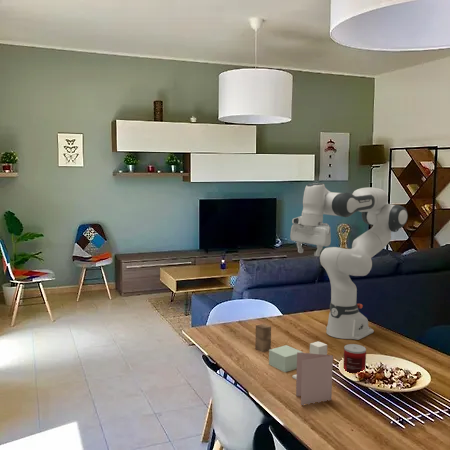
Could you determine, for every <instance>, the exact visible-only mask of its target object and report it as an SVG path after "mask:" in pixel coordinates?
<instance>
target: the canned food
mask: <svg viewBox="0 0 450 450" xmlns="http://www.w3.org/2000/svg"><path fill="white" fill-rule="evenodd" d="M366 363H367V348H366V347H365V346H363V345H361V344H356V343H350V344H346V345H344V347H343V368H344V369H345V371H347V372H349V373H357V372H360V371H363V370H364V369H365V370H366Z"/></svg>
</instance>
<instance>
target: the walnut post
mask: <svg viewBox="0 0 450 450" xmlns="http://www.w3.org/2000/svg"><path fill="white" fill-rule="evenodd" d="M254 345H255V350H257V351H259V352H261V353H264V352H269V350H271V349H272V326H271V325H269V324H266V323H259V324H257V325H255V343H254Z"/></svg>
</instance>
